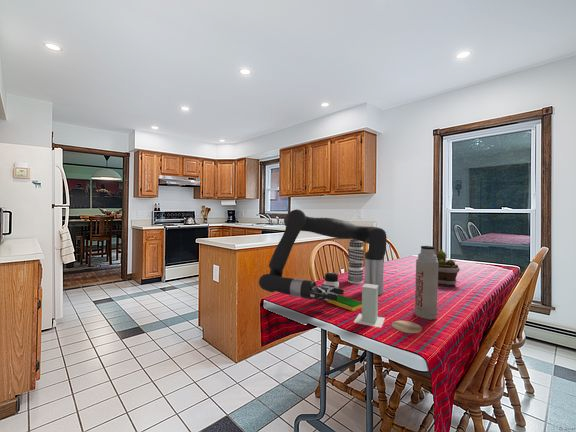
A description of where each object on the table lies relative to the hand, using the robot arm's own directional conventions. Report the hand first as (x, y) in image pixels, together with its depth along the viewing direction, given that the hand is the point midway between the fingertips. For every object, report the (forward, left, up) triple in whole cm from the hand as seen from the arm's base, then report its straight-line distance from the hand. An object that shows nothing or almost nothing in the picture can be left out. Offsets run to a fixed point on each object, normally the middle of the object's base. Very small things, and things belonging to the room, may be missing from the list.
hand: (340, 294), depth 113 cm
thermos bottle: (-16, +30, -9) cm, 36 cm away
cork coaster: (0, +24, -8) cm, 26 cm away
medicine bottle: (-18, -10, -9) cm, 22 cm away
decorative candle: (-54, -7, -9) cm, 55 cm away
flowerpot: (-74, +39, -9) cm, 84 cm away
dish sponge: (-12, -2, -8) cm, 15 cm away
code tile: (0, +11, -8) cm, 14 cm away
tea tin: (0, +11, -8) cm, 14 cm away
